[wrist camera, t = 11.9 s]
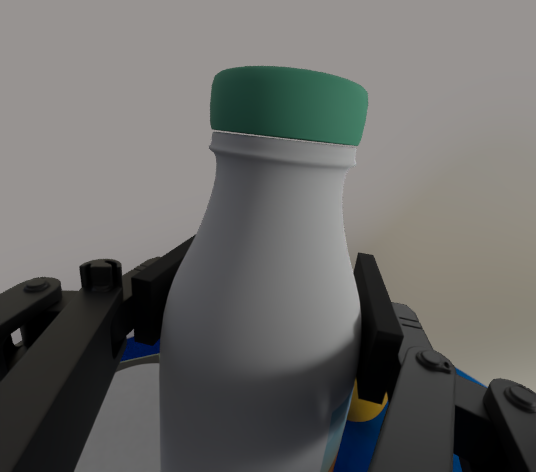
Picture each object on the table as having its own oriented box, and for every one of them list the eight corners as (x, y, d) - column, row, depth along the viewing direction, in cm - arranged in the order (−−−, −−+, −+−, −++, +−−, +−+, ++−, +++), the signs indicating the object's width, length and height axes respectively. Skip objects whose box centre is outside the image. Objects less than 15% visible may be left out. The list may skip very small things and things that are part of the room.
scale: (203, 358, 37) (204, 338, 36) (248, 493, 24) (251, 466, 23) (53, 394, 30) (49, 370, 29) (-3, 614, 17) (-16, 585, 16)
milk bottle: (244, 700, 10) (384, -2, 3) (130, 514, 14) (91, 52, 8) (338, 497, 16) (455, 105, 9) (238, 410, 20) (268, 101, 13)
